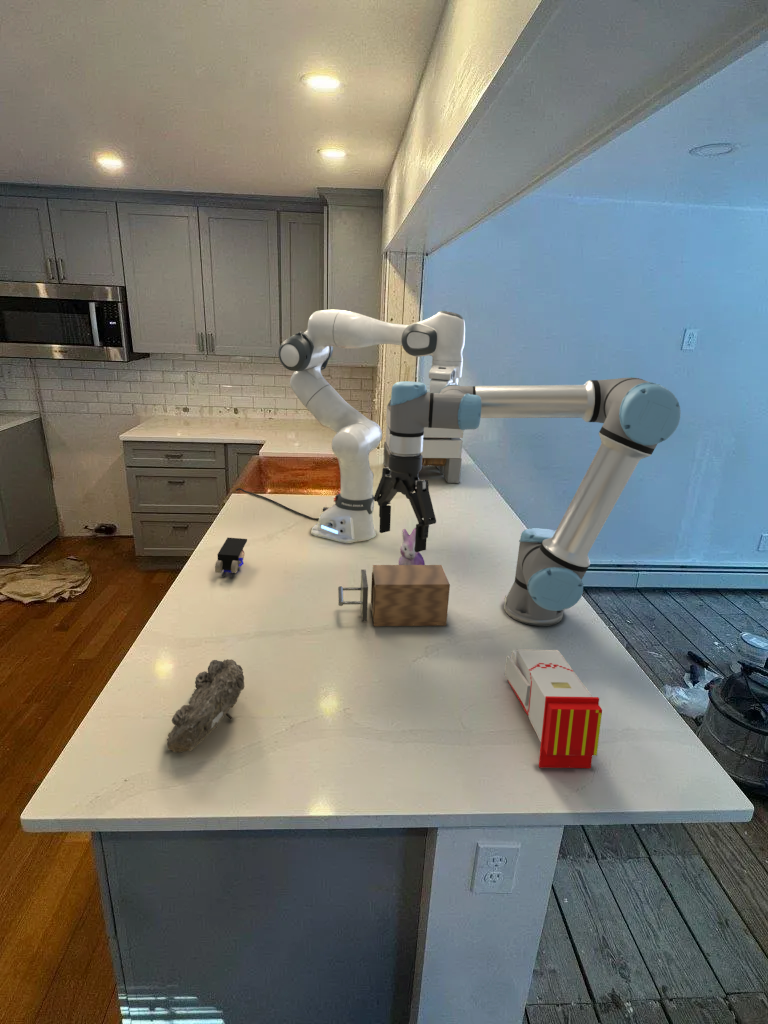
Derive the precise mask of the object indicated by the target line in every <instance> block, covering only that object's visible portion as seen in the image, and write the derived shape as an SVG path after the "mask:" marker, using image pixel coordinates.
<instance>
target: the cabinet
mask: <svg viewBox="0 0 768 1024" xmlns="http://www.w3.org/2000/svg"><path fill="white" fill-rule="evenodd" d="M371 571H372V572H373V575H374V581H375V607H374V618H373V617H372V620H373V626H374V627H426V626H427V627H429V626H431V627H432V626H433V627H434V626H447V622H448V610H449V599H450V587H451V583H450V582H449V579H448V577H447V574H446V572H445V570H444V566H443V565H442V564H425V565H399V564H372V570H371ZM372 572H371V573H372Z"/></svg>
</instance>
